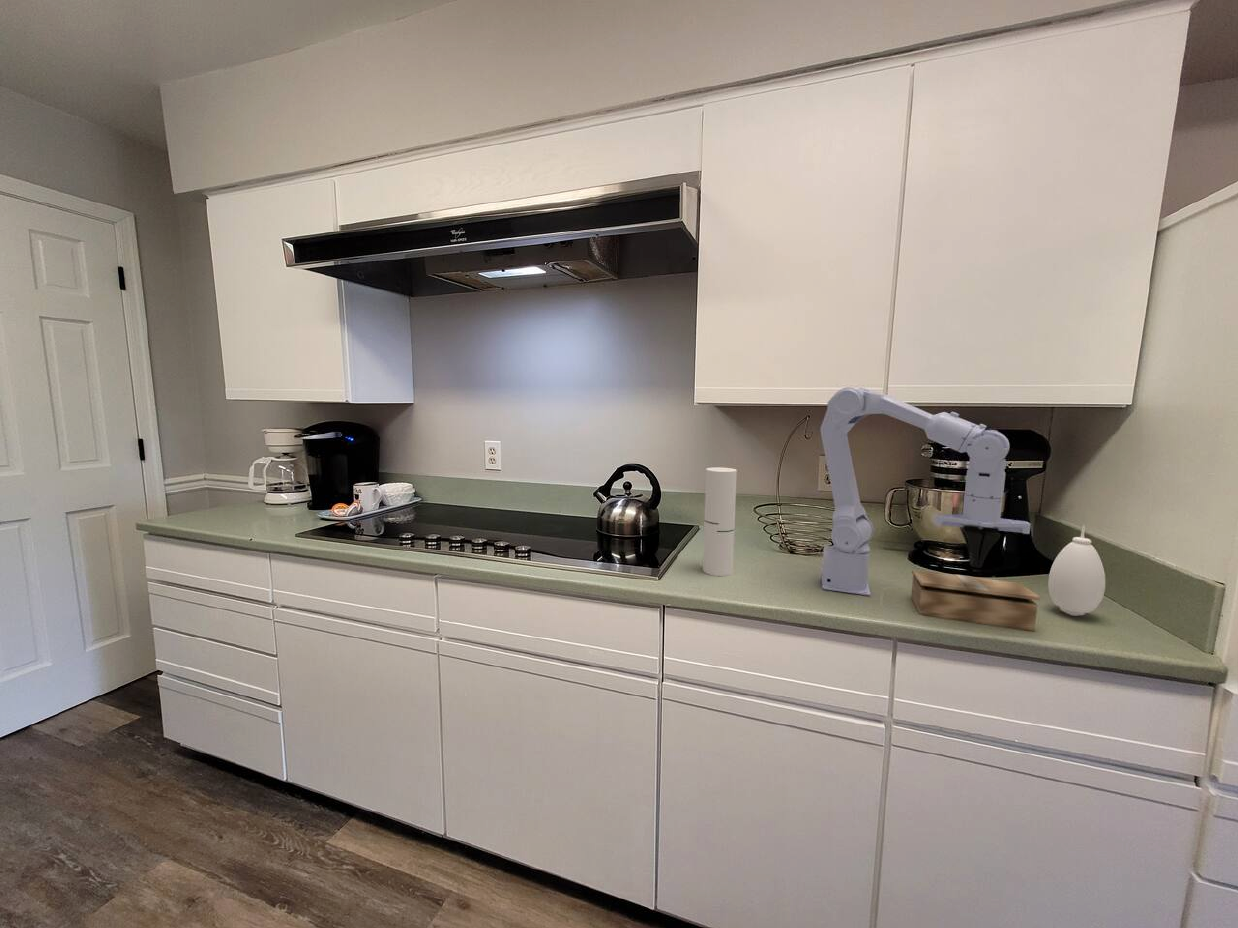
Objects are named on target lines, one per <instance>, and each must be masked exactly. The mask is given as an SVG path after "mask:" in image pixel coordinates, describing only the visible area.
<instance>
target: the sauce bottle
mask: <svg viewBox="0 0 1238 928" xmlns="http://www.w3.org/2000/svg"><path fill="white" fill-rule="evenodd" d="M1085 530H1086V527H1085V525H1084V524H1083V526H1082V529H1081V533H1080V536H1074V537H1073V538H1072V539H1071V540H1072V541H1071V542H1069V543H1068V544H1067V545H1065V546H1064V547H1063V548H1062V549H1061V550H1060V552H1059V553H1058V554H1057V556H1056V558H1055V559H1054V561H1053V563H1052V565H1051V568H1050V571H1049V575H1048V580H1047V581H1048V585H1047V586H1048V592H1049V596H1050V598H1051V600H1052V602H1053V603H1054V605H1056V606H1057V607H1059V610H1060V611H1062V612H1064V614H1067V615H1068V614H1069V615H1068V616H1071V617H1078V616H1084V615H1086V614H1087V613H1092V612H1093V611H1094V610H1096V609H1097V607H1098V606H1099V605H1100V603H1101V602H1102V600H1103V598H1104V594H1105V591H1106V574H1105V570H1104V569H1105V568H1104V566H1103V562H1102V560H1101V557H1100V555H1099V553H1098V551H1097V550H1096V548H1095V547H1094V546H1093V545H1092V540H1091V539H1090V538H1086V537H1085Z"/></svg>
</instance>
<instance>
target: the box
mask: <svg viewBox="0 0 1238 928" xmlns="http://www.w3.org/2000/svg"><path fill="white" fill-rule="evenodd" d="M911 584H912V585H911V594H910V598H911V600H912V602H913V604H914V606H915V608H916V610H917V613H918V614H919V615H920V616H928V617H935V618H941V619H949V620H953V621H954V620H955V621H960V622H961V621H962V622H968V623H974V624H975V623H976V624H980V625H989V626H994V627H995V626H996V627H1001V628H1008V629H1009V628H1010V629H1015V630H1023V631H1028V632H1035V628H1036V619H1037V614H1038V613H1037V612H1038V604H1037V603H1036V602H1035V601H1034V600H1032V599H1024V598H1016V597H1008V596H1001V595H993V594H985V593H977V592H969V591H961V590H954V589H946V588H938V587H930V586H922V585H921V584H920V583H919V582H918V580H917V579H916V578H915V576H914V575H913V574H912V583H911Z"/></svg>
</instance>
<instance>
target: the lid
mask: <svg viewBox="0 0 1238 928" xmlns="http://www.w3.org/2000/svg"><path fill="white" fill-rule="evenodd" d="M911 573H912V576H913V575H914V576H915V578H916V579H917V580H918V582H919V583H920V584H921V585H922V586H930V587H938V588H946V589H954V590H961V591H969V592H977V593H985V594H993V595H1001V596H1008V597H1016V598H1024V599H1031V600H1032V601H1041V596H1039V595H1038V594H1037V593H1035V592H1034V591H1032V590H1031V589H1030V588H1028V587H1026V586H1025V585H1023V584H1022V583H1020V582H1015V581H1008V580H999V579H991V578H984V577H982V578H981V577H975V576H970V575H964V574H963V575H962V574H950V573H949V574H948V573H940V572H934V571H933V572H932V571H925V570H916V569H912V570H911Z"/></svg>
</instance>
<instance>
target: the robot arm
mask: <svg viewBox="0 0 1238 928" xmlns="http://www.w3.org/2000/svg"><path fill="white" fill-rule="evenodd" d="M873 414H874V415H879V414H882V415H887V416H889V417H891V418H894V419H897V420H899V421H902V422H904V423H907V424H910V425H912V426H915V427H917V428H920V429H922V430H924V432H925V434H926V437H927V439H929V440H931V441H932V442H935V443H938V444H940V445H943V446H945V447H947V448H949V449H951V450H954V451H956V452H959V453H960V454H963V453H967V455H968V457H969V462H968V463H969V464H968V468H967V471H966V477H965V479H966V480H965V490H964V496H963V504H962V505H963V506H962V507H963V508H962V514H939V513H934V516H933V517H934V518H933V524H934V525H935V526H937V527H943V526H944V527H953V528H955V527H956V528H959V529H960V532H961V534H962V536H963V539H964V541H965V545H966V547H967V551H968V555H969V556H968V557H969V565H970V567H971V566H972V568H979V569H982V567H983V565H984V562H985V560H986V557H987V555H988V554H989V552H990V550H991V549H992V548H993V546H994V545H995V544H996V543H997V542H998V541H999V540H1000V537H1001V533H1000V532H999V531H1003V532H1012V533H1022V534H1025V535H1029V534H1030V532H1031V523H1030V522H1028V521H1025V520H1018V519H1016V520H1014V519H1009V518H1001V515H1002V507H1003V498H1004V491H1005V481H1006V472H1005V469H1006V467H1007V462H1006V456H1007V455H1008V453H1009V452H1010V451H1009V450H1010V442H1009V439H1008V438H1007V437H1006V436H1005V434H1003V433H1001V432H999V431H998V430H996V429H986V428H987V425H985V424H983V423H980V424H976V423H973V422H971V421H968V420H966V419H964V418H961V417H959V416H960V413H957V412H955V411H951V412H950V413H948V412H946V411H943V412H939V413H937V414H932V413H929V412H927V411H925V410H923V409H920V408H918V407H916V406H913V405H911V404H909V403H907V402H905V401H903V400H900V399H897V398H895V397H893V396H891V395H888V394H886V393H881V392H878V391H873V390H872V391H871V390H869V389H866V388H862V387H860V388H855V387H842V388H841V389H839V390H838V391H836V392H835V393H834V394H833V396H832V397H831V398H830V399H829V400H828V401H827V410H826V411H825V414H824V418H823V421H822V423H821V426H820V435H821V441H822V442H821V443H822V446H823V451H824V456H825V462H826V466H827V471H828V472H827V473H828V476H829V477H828V478H829V482H830V488H831V493H832V498H833V503H834V511H833V513H832V514H833V515H832V519H831V520H832V525H833V526H832V529H831V534H830V537H831V541H832V543H833V545H824V546H823V558H822V559H823V560H822V568H821V570H820V578H821V589H823V590H826V591H827V590H829V591H835V592H841V593H849V594H855V595H862V596H863V595H864V596H870V595H871V591H870V587H869V584H868V577H869V576H868V575H869V565H870V552H871V548H870V546H869V544H868V541H870V540H871V539H873V538H872V537H873V536H874V531H875V528H874V525H873V523H872V522H871V520H869V518H868V517H867V511H866V509H865V508H864V506H863V505H862V504H861V500H860V495H859V489H858V484H857V478H856V473H855V469H854V462H853V458H852V453H851V448H850V444H849V437H848V433H849V431H851V430H852V428H853V427H854V426H855V425H856V424H857V422H859V421H860V420H862V419H864V418H865V417H867V416H868V415H873Z"/></svg>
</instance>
